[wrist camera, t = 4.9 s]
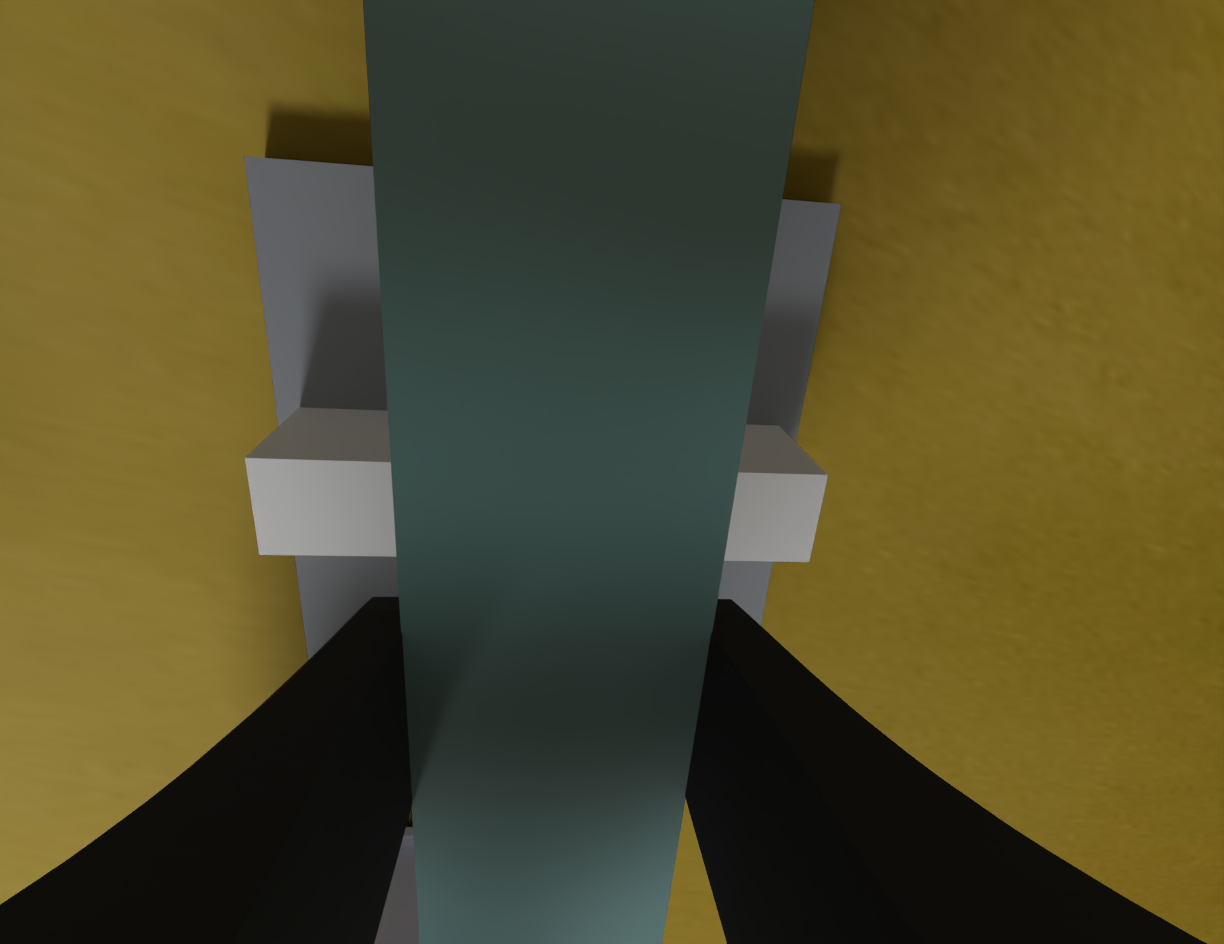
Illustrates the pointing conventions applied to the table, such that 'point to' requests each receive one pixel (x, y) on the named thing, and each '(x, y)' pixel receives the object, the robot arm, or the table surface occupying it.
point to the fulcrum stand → (358, 415)
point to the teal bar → (567, 424)
